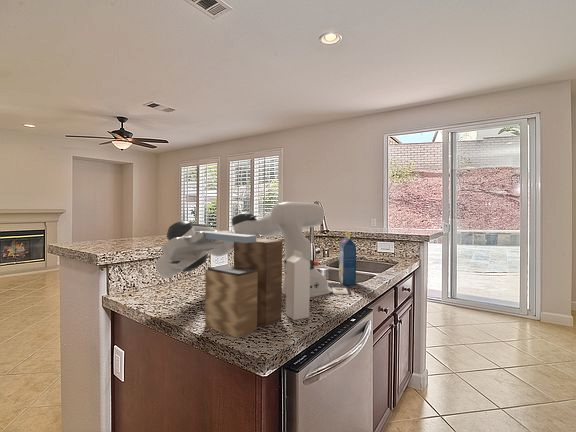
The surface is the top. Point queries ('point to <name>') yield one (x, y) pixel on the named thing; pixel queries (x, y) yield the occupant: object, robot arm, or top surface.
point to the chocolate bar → (339, 288)
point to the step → (231, 300)
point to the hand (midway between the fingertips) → (210, 233)
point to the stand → (264, 275)
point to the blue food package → (347, 261)
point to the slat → (229, 236)
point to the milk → (297, 286)
